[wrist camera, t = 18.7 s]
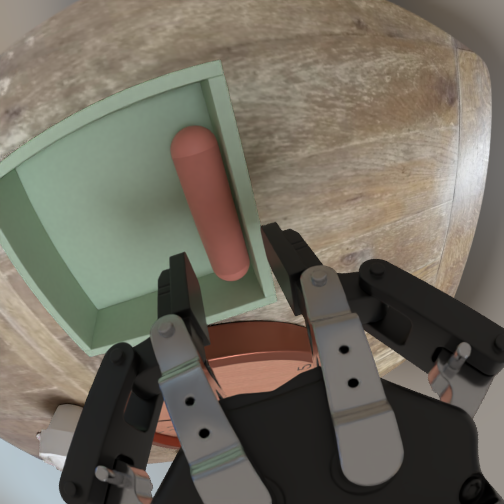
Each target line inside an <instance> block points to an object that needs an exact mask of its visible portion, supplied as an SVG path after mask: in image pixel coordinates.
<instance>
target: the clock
mask: <svg viewBox="0 0 504 504" xmlns="http://www.w3.org/2000/svg"><path fill="white" fill-rule="evenodd" d="M208 332H209V338H210V343H211V345H208V346H204V349H205V354H206V358H207V359H208V361H209V363H210V365H211V367H212V369H213V371H214V373H215V375H216V377H217V379H218V381H219V383H220V385H221V387H222V389H223V391H224V392H225V394H226V396H227V397H230V396H233V395H237V394H243V393H257V392H268V391H273V390H275V389H277V388H278V387H280V386H281V385H283V384H285V383H286V382H288V381H289V380H291V379H292V378H294V377H295V376H297V375H298V374H300V373H302V372H305V371H307V370H310V369H312V368H314V366H313V360H312V355H311V350H310V345H309V340H308V335H307V330H306V328H305V327H302V326H298V325H294V324H288V323H281V322H267V321H254V322H238V323H229V324H221V325H215V326H210V327H208ZM130 394H131V392H130ZM129 397H130V395H129ZM128 399H129V398H128ZM127 402H128V401H127ZM126 405H127V404H126ZM125 408H126V407H125ZM124 411H125V410H124ZM152 445H156V446H160V447H165V448H171V449H180V447H181V444H180V442H179V439H178V437H177V434H176V432H175V429H174V427H173V424H172V421H171V419H170V416H169V413H168V411H167V408H166V405H165V402H163V406H162V409H161V413H160V417H159V420H158V424H157V428H156V431H155V435H154V439H153V443H152Z"/></svg>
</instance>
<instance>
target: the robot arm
mask: <svg viewBox="0 0 504 504" xmlns="http://www.w3.org/2000/svg"><path fill="white" fill-rule="evenodd" d="M260 231H261V236H262V240H263V244H264V249H265V253H266V257H267V260H268V263H269V265H270V267H271V269H272V271H273V273H274V275H275V277H276V279H277V281H278V283H279V285H280V287H281V289H282V291H283V293H284V295H285V297H286V299H287V301H288V303H289V305H290V307H291V309H292V311H293V313H294V315H295V316H298V315H301V314H302V315H303V317H304V319H305V324H306V330H307V335H308V340H309V345H310V350H311V355H312V360H313V366H314V368H312V369H310V370H307V371H305V372H302V373H300V374H298V375H297V376H295V377H294V378H292V379H291V380H289V381H288V382H286V383H285V384H283V385H281V386H280V387H278V388H277V389H275V390H273V391H268V392H257V393H243V394H237V395H233V396H230V397H227V396H226V394H225V392H224V391H223V389H222V387H221V385H220V383H219V381H218V379H217V377H216V375H215V373H214V371H213V369H212V367H211V365H210V363H209V361H208V359H207V358H206V354H205V349H204V346H208V345H211V343H210V338H209V332H208V327H207V322H206V317H205V311H204V306H203V300H202V294H201V289H200V285H199V282H198V279H197V277H196V274H195V272H194V270H193V268H192V265H191V263H190V261H189V258H188V256H187V254H186V252H182V253H179V254H176V255H173V256H170V257H169V269H166V270H163V271H162V272H161V274H160V276H159V278H158V293H157V295H158V296H157V320H156V321H155V322H154V324H153V325H152V327H151V329H150V337H148V338H147V339H146V340H144V341H143V342H141V343H139V344H138V345H136V346H134V347H132V346H131V345H130V344H129V343H126V342H120V343H117V344H115V345H113V346H112V347H110V348H109V349H108V351H107V352H106V354H105V356H104V358H103V360H102V363H101V365H100V367H99V370H98V372H97V374H96V377H95V379H94V382H93V384H92V386H91V389H90V391H89V394H88V397H87V399H86V402H85V404H84V407H83V410H82V412H81V415H80V418H79V421H78V423H77V426H76V429H75V432H74V435H73V438H72V441H71V444H70V447H69V450H68V453H67V457H66V460H65V463H64V467H63V470H62V474H61V478H60V482H59V491H60V494H61V497H62V498H63V500H64V501H65V502H66V503H67V504H504V500H503V499H502V497H501V496H500V495H499V494H498V493H497V491H496V490H495V489H494V488H493V487H492V486H491V485H490V484H489V482H488V481H487V480H486V479H485V477H484V476H483V474H482V472H481V469H480V464H479V457H478V432H477V427H476V425H475V422H474V421H473V417H474V416H475V414H476V412H477V410H478V409H479V406H480V405H481V403H482V401H483V399H484V397H485V395H486V393H487V391H488V389H489V387H490V385H491V382H492V381H493V378H494V377H495V376H496V375H497V374H498V373H499V372H500V371H501V370H502V369H503V368H504V328H502V327H501V326H499V325H497V324H496V323H494V322H493V321H491V320H490V319H488V318H486V317H485V316H483V315H481V314H480V313H478V312H476V311H475V310H473V309H471V308H470V307H468V306H466V305H465V304H463V303H461V302H460V301H458V300H456V299H454V298H453V297H451V296H449V295H448V294H446V293H444V292H442V291H441V290H439V289H437V288H435V287H433V286H432V285H430V284H428V283H426V282H424V281H423V280H421V279H419V278H417V277H415V276H413V275H412V274H410V273H408V272H406V271H404V270H402V269H400V268H398V267H397V266H395V265H393V264H391V263H389V262H387V261H385V260H381V259H370V260H367V261H365V262H364V263H363V264H362V265H361V266H360V268H359V272H352V273H336V271H335V270H334V269H332V268H331V267H328V266H324V265H323V264H322V263H321V262H320V260H319V259H318V258H317V256H316V255H315V254H314V252H313V251H312V250H311V248H310V247H309V246H308V244H307V243H306V242H305V241H304V239H303V238H302V237H301V235H300V234H299V233H298V232H296V231H294V230H292V229H287V230H284V231H282V230H281V228H280V227H279V225H278V224H277V223H276V222H273V223H270V224H267V225H264V226H261V227H260ZM364 330H365V331H366V332H368V333H369V334H371V335H372V336H374V337H375V338H376V339H378V340H379V341H381V342H382V343H384V344H385V345H387V346H388V347H390V348H391V349H392V350H394V351H395V352H397V353H398V354H400V355H401V356H403V357H404V358H405V359H407V360H408V361H410V362H411V363H413V364H414V365H416V366H417V367H419V368H420V369H421V370H423V371H424V372H426V373H427V374H428V380H429V384H430V386H431V388H432V390H433V391H434V392H435V393H437V394H438V395H439V397H440V400H437V399H435V398H432V397H429V396H426V395H423V394H421V393H418V392H415V391H413V390H410V389H408V388H405V387H402V386H400V385H397V384H394V383H392V382H389V381H387V380H385V379H382V378H380V377H379V373H378V370H377V367H376V364H375V361H374V358H373V355H372V352H371V349H370V346H369V343H368V341H367V338H366V335H365V332H364ZM130 392H131V394H130ZM129 395H130V397H129ZM128 398H129V399H128ZM127 401H128V402H127ZM163 402H165V405H166V408H167V411H168V413H169V416H170V419H171V421H172V424H173V427H174V429H175V432H176V434H177V437H178V439H179V442H180V444H181V447H180V449H179V451H178V453H177V455H176V457H175V459H174V461H173V463H172V464H171V466H170V468H169V470H168V472H167V474H166V475H165V477H164V479H163V481H162V483H161V485H160V487H159V488H158V490H157V492H156V494H155V496H154V497H152V494H151V491H152V489H153V485H152V483H151V480H150V478H149V476H148V474H147V473H146V472H145V470H146V466H147V462H148V458H149V454H150V450H151V446H152V443H153V439H154V435H155V431H156V428H157V424H158V420H159V417H160V413H161V409H162V406H163ZM126 404H127V405H126ZM125 407H126V408H125ZM124 410H125V411H124Z"/></svg>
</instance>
